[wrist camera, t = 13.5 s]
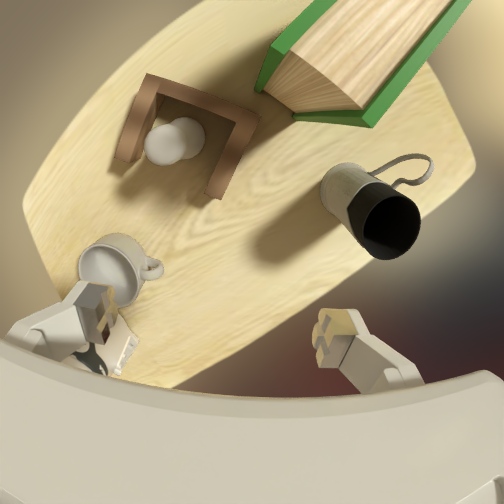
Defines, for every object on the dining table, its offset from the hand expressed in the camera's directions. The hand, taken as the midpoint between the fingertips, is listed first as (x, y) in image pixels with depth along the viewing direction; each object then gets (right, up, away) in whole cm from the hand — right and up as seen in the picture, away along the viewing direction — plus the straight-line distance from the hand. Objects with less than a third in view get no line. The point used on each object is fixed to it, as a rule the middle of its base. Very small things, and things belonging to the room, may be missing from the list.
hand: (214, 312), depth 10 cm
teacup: (-19, +2, +34) cm, 39 cm away
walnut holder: (-7, +19, +25) cm, 32 cm away
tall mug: (+17, +14, +29) cm, 36 cm away
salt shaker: (-8, +18, +26) cm, 32 cm away
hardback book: (+10, +29, +21) cm, 37 cm away
